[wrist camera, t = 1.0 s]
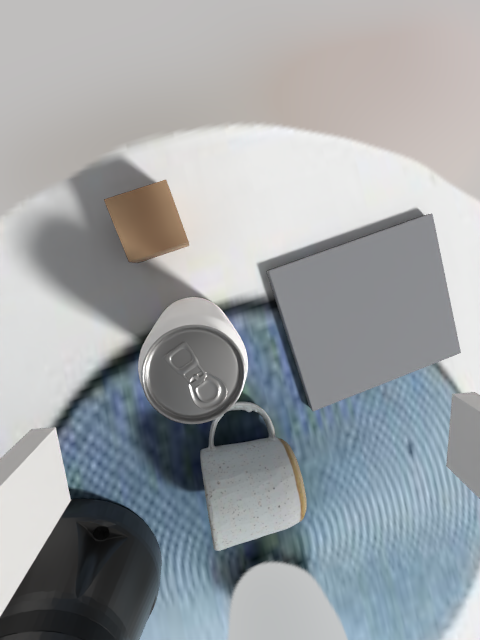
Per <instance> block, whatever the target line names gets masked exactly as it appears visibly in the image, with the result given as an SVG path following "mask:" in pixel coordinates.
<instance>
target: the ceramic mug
mask: <svg viewBox="0 0 480 640" xmlns="http://www.w3.org/2000/svg"><path fill="white" fill-rule="evenodd" d="M231 410H246V411H247V412H250V411H255V412H258V413H259V414H260V415H261V416H262V417H263V419H264V421H265V423H266V426H267V429H268V434H269V437H268V438H263V439H257V440H253V441H248V442H242V443H235V444H228V445H221V446H214V434H215V430H216V426H217V424H218V422H219V420H220V419H221V417H222V416H223V415H224V414H223V415H222V416H220V417H218V418H216V419H214V420H213V421H212V424H211V428H210V434H209V446H208V448H205V449H202V450H201V451H200V458H201V468H202V474H203V482H204V488H205V496H206V502H207V509H208V515H209V521H210V527H211V534H212V539H213V546H214V549H215V550H217V551H220V550H223V549H226V548H228V547H231V546H234V545H237V544H240V543H244V542H247V541H250V540H253V539H256V538H259V537H262V536H265V535H268V534H271V533H275V532H278V531H281V530H284V529H287V528H289V527H291V526H293V525H295V524H297V523H298V522H300V521H301V520H302V519H303V518H304V515H305V512H306V495H305V489H304V484H303V479H302V476H301V472H300V469H299V466H298V463H297V460H296V457H295V455H294V453H293V451H292V449H291V447H290V446H289V445H288V443H287V442H285V441H284V440H282V439H279V438H276V436H275V431H274V426H273V424H272V421H271V419H270V418H269V416H268V414H267V413H266V412H265V411H264V410H263V409H262V408H261V407H260V406H258V405H256V404H254V403H251V402H236V403H235V404H234V405H233V406H232V407H231V408H230V409H229V410H228V411H231Z"/></svg>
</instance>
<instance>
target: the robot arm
mask: <svg viewBox="0 0 480 640" xmlns="http://www.w3.org/2000/svg"><path fill="white" fill-rule="evenodd" d="M446 466H447V467H448V468H449V469H450V470H451V471H452V472H453V473H454V474H455V475H456V476H457V477H458V478H459V479H460V480H461V481H462V482H463V483H464V484H465V485H466V486H467V487H468V488H469V489H470V490H471V491H473V492H474V493H475V494H476V495H477V496H478V497H479V498H480V395H478V394H477V393H475V392H471V393H459V394H452V404H451V416H450V429H449V441H448V453H447V465H446ZM160 575H161V552H160V548H159V545H158V542H157V540H156V538H155V536H154V534H153V532H152V531H151V529H150V528H149V527H148V525H147V524H146V523H145V522H144V521H143V520H142V519H141V518H139V517H138V516H137V515H136V514H134V513H133V512H131V511H129V510H128V509H126V508H124V507H121V506H119V505H117V504H114V503H110V502H106V501H102V500H95V499H72V500H71V499H70V494H69V489H68V484H67V479H66V475H65V470H64V465H63V460H62V455H61V451H60V446H59V441H58V436H57V431H56V427H53V428H42V429H31V430H30V431H29V432H28V433H27V434H26V435H25V436H24V437H23V438H22V439H21V440H20V441H19V442H18V443H16V444H15V445H14V446H13V447H12V448H11V449H10V450H9V451H8V452H7V453H6V454H5V455H4V456H3V457H2V458H1V459H0V640H139V639H140V637H141V634H142V632H143V629H144V627H145V624H146V622H147V620H148V618H149V616H150V614H151V612H152V610H153V608H154V606H155V603H156V599H157V596H158V591H159V584H160Z"/></svg>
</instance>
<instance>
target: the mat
mask: <svg viewBox="0 0 480 640" xmlns="http://www.w3.org/2000/svg"><path fill="white" fill-rule="evenodd" d="M266 272H267V275H268V278H269V281H270V284H271V287H272V291H273V294H274V297H275V300H276V303H277V306H278V309H279V313H280V316H281V319H282V322H283V325H284V328H285V331H286V335H287V338H288V341H289V344H290V347H291V350H292V354H293V357H294V360H295V363H296V366H297V369H298V372H299V376H300V379H301V382H302V385H303V388H304V391H305V395H306V398H307V401H308V404H309V407H310V408H311V409H312V411H315V410H318V409H320V408H323V407H325V406H328V405H330V404H333V403H335V402H338V401H340V400H343V399H345V398H348V397H351V396H353V395H356V394H358V393H361V392H363V391H366V390H368V389H371V388H373V387H376V386H378V385H381V384H383V383H386V382H388V381H391V380H393V379H396V378H399V377H401V376H404V375H406V374H409V373H411V372H414V371H416V370H419V369H421V368H424V367H426V366H429V365H431V364H434V363H436V362H439V361H441V360H444V359H447V358H449V357H452V356H454V355H457V354H459V353H461V352H460V347H459V342H458V337H457V332H456V327H455V322H454V318H453V313H452V308H451V303H450V298H449V293H448V288H447V283H446V278H445V273H444V269H443V264H442V259H441V254H440V249H439V244H438V239H437V234H436V229H435V224H434V220H433V215H432V214H428V215H424V216H421V217H418V218H415V219H412V220H409V221H407V222H404V223H401V224H398V225H395V226H392V227H390V228H387V229H384V230H381V231H378V232H375V233H373V234H370V235H367V236H364V237H361V238H358V239H356V240H353V241H350V242H347V243H344V244H341V245H339V246H336V247H333V248H330V249H327V250H324V251H322V252H319V253H316V254H313V255H310V256H307V257H305V258H302V259H299V260H296V261H293V262H290V263H288V264H285V265H282V266H279V267H276V268H273V269H271V270H268V271H266Z"/></svg>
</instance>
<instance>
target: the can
mask: <svg viewBox="0 0 480 640" xmlns="http://www.w3.org/2000/svg"><path fill="white" fill-rule="evenodd" d="M138 371H139V378H140V382H141V385H142V387H143V390H144V393H145V395H146V397H147V399H148V401H149V402H150V404H151V405H152V406H153V407H154V408H155V409H156V410H157V411H158V412H159V413H160V414H161V415H163V416H165V417H166V418H168V419H170V420H173V421H175V422H179V423H184V424H200V423H205V422H209V421H212V420H214V419H216V418H218V417H220V416H222V415H223V414H225V413H226V412H227V411H228V410H229V409H230V408H231V407H232V406H233V405H234V404H235V403H236V401H237V400H238V398H239V397H240V395H241V393H242V390H243V387H244V383H245V380H246V376H247V371H248V359H247V353H246V349H245V346H244V344H243V342H242V340H241V338H240V336H239V334H238V333H237V331H236V330H235V328H234V327H233V325H232V324H231V322H230V321H229V319H228V318H227V317H226V315H225V314H224V312H223V311H222V310H221V309H220V308H219V307H218V306H217V305H216V304H214V303H213V302H211V301H209V300H206V299H203V298H199V297H188V298H183V299H180V300H178V301H176V302H174V303H172V304H171V305H170V306H168V307H167V308H166V309H165V310H164V312H163V313H162V314H161V316H160V317H159V319H158V320H157V322H156V323H155V325H154V327H153V328H152V330H151V331H150V333H149V335H148V336H147V338H146V340H145V342H144V344H143V346H142V349H141V352H140V356H139V363H138Z"/></svg>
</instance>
